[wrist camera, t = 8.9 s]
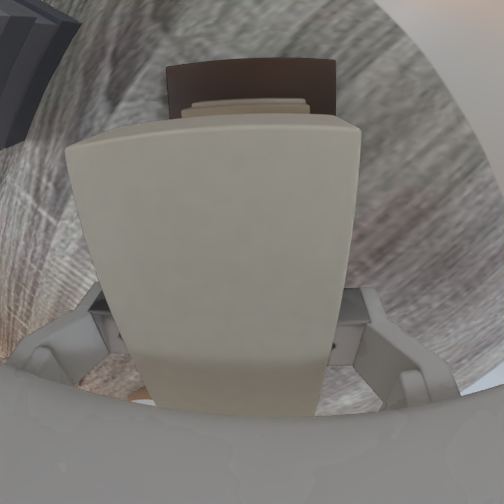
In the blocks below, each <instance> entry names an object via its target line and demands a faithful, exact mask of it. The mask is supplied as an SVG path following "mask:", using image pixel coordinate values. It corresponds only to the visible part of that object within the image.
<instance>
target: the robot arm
mask: <svg viewBox="0 0 504 504" xmlns="http://www.w3.org/2000/svg"><path fill="white" fill-rule="evenodd" d="M110 353H116V354H124V355H130V354H129V352H128V350H127V348H126V346H125V343H124V341H123V339H122V337H121V334H120V332H119V330H118V327H117V325H116V323H115V320H114V318H113V316H112V313H111V311H110V308H109V306H108V303H107V301H106V298H105V295H104V293H103V290H102V287H101V285H100V282H99V281H98V282H95V283H94V284H93V285H92V287H91V288H90V290H89V291H88V292H87V294H86V295H85V296H84V298H83V299H82V300H81V302H80V303H79V305H78V306H77V307H76V309H75V310H70V311H68V312H67V313H65V314H63V315H62V316H60V317H58V318H56V319H55V320H53V321H51V322H50V323H48V324H46V325H45V326H43V327H41V328H39V329H38V330H36V331H34V332H33V333H31V334H29V335H28V336H26V337H24V338H23V339H21V340H20V342H19V343H18V345H17V346H16V348H15V349H14V351H13V352H12V354H11V355H10V357H9V358H8V360H7V361H6V363H3V362H0V504H504V384H502V385H498V386H495V387H492V388H489V389H486V390H482V391H478V392H475V393H471V394H467V395H463V396H461V395H460V392H459V390H458V387H457V384H456V382H455V379H454V377H453V374H452V372H451V369H450V367H449V365H448V363H447V362H445V361H444V360H443V359H442V358H440V357H439V356H438V355H436V354H435V353H434V352H432V351H431V350H430V349H429V348H427V347H426V346H425V345H423V344H422V343H421V342H419V341H418V340H417V339H415V338H414V337H413V336H411V335H410V334H409V333H407V332H406V331H405V330H403V329H402V328H401V327H399V326H398V325H397V324H395V323H394V322H388V319H387V316H386V314H385V311H384V309H383V306H382V303H381V301H380V298H379V296H378V293H377V291H376V289H375V288H374V287H358V288H344V289H343V295H342V300H341V306H340V311H339V316H338V321H337V325H336V330H335V335H334V339H333V344H332V349H331V353H330V357H329V361H328V365H327V366H353V368H354V369H355V370H356V371H357V372H358V373H359V375H360V376H361V377H362V378H363V379H364V380H365V381H366V383H367V384H368V385H369V386H370V387H371V388H372V390H373V391H374V392H375V393H376V394H377V395H378V397H379V398H380V399H381V400H382V401H383V402H384V403H383V405H382V406H381V408H380V410H379V411H377V412H368V413H358V414H346V415H332V416H310V417H260V416H238V415H224V414H212V413H202V412H193V411H185V410H178V409H171V408H164V407H158V406H152V405H146V404H141V403H136V402H131V401H126V400H121V399H117V398H112V397H108V396H104V395H100V394H96V393H92V392H88V391H84V390H81V389H77V388H76V387H75V384H76V383H77V382H78V381H79V380H80V379H82V378H83V377H84V376H85V375H86V374H87V373H88V372H90V371H91V370H92V369H93V368H94V367H95V366H96V365H98V364H99V363H100V362H101V361H102V360H103V359H105V358H106V357H107V356H108V355H109V354H110Z"/></svg>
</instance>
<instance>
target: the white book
mask: <svg viewBox="0 0 504 504" xmlns="http://www.w3.org/2000/svg"><path fill="white" fill-rule="evenodd" d="M360 150H361V130H360V129H359V128H357V127H355V126H354V125H352V124H350V123H348V122H346V121H344V120H342V119H340V118H338V117H336V116H334V115H323V114H293V113H262V114H231V115H214V116H201V117H190V118H180V119H171V120H163V121H155V122H148V123H141V124H134V125H128V126H122V127H117V128H113V129H111V130H108V131H105V132H103V133H100V134H97V135H95V136H92V137H90V138H87V139H85V140H82V141H80V142H77V143H75V144H73V145H70V146H68V147H67V148H65V150H64V153H65V159H66V164H67V169H68V174H69V178H70V183H71V187H72V192H73V196H74V200H75V204H76V208H77V212H78V215H79V219H80V223H81V226H82V230H83V233H84V236H85V240H86V243H87V246H88V250H89V253H90V256H91V259H92V262H93V265H94V268H95V271H96V274H97V276H98V279H99V282H100V285H101V287H102V290H103V293H104V295H105V298H106V301H107V303H108V306H109V308H110V311H111V313H112V316H113V318H114V320H115V323H116V325H117V327H118V330H119V332H120V334H121V337H122V339H123V341H124V343H125V346H126V348H127V350H128V352H129V354H130V356H131V358H132V360H133V363H134V365H135V367H136V369H137V371H138V373H139V375H140V377H141V379H142V381H143V382H144V384H145V386H146V388H147V390H148V392H149V394H150V396H151V397H152V399H153V401H154V403H155V405H156V406H158V407H164V408H171V409H178V410H185V411H193V412H202V413H212V414H224V415H238V416H260V417H310V416H314V415H315V412H316V408H317V404H318V401H319V397H320V393H321V390H322V386H323V382H324V378H325V374H326V370H327V365H328V361H329V357H330V353H331V349H332V344H333V339H334V335H335V330H336V325H337V321H338V316H339V311H340V306H341V300H342V295H343V289H344V284H345V278H346V272H347V265H348V259H349V252H350V246H351V238H352V231H353V223H354V215H355V206H356V197H357V187H358V176H359V164H360Z"/></svg>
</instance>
